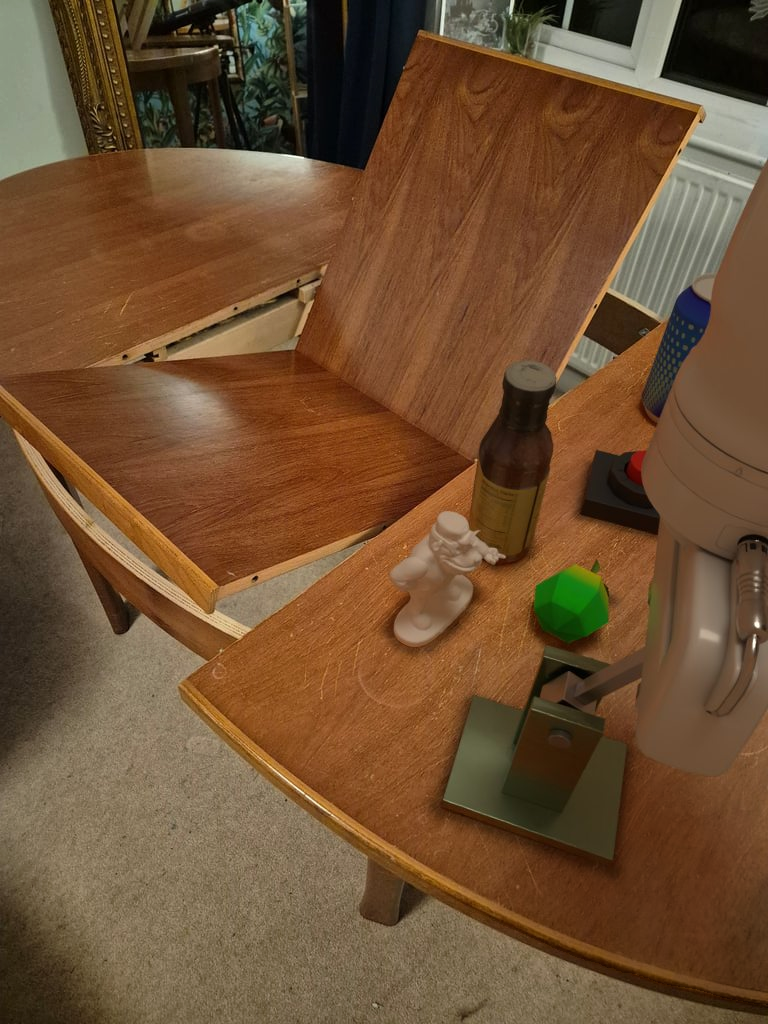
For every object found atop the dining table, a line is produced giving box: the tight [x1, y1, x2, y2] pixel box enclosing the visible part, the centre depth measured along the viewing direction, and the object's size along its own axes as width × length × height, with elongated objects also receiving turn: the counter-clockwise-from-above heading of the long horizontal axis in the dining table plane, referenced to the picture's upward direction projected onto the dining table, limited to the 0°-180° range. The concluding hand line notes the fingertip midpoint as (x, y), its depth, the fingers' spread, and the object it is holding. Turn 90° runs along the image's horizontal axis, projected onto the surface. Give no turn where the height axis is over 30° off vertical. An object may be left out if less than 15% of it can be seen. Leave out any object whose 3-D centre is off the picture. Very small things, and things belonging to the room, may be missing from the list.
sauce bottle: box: [468, 360, 557, 565], centre depth 64 cm, size 6×6×20 cm
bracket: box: [440, 644, 628, 867], centre depth 50 cm, size 12×9×13 cm
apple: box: [533, 559, 611, 644], centre depth 64 cm, size 7×6×9 cm
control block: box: [580, 449, 660, 535], centre depth 75 cm, size 10×8×4 cm
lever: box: [540, 646, 645, 715], centre depth 44 cm, size 12×6×2 cm
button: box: [626, 450, 647, 486], centre depth 73 cm, size 4×4×2 cm
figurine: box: [389, 510, 506, 648], centre depth 61 cm, size 9×7×12 cm
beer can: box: [641, 272, 717, 425], centre depth 81 cm, size 8×8×16 cm
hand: (656, 650), depth 41 cm, fingers open, 6 cm apart
